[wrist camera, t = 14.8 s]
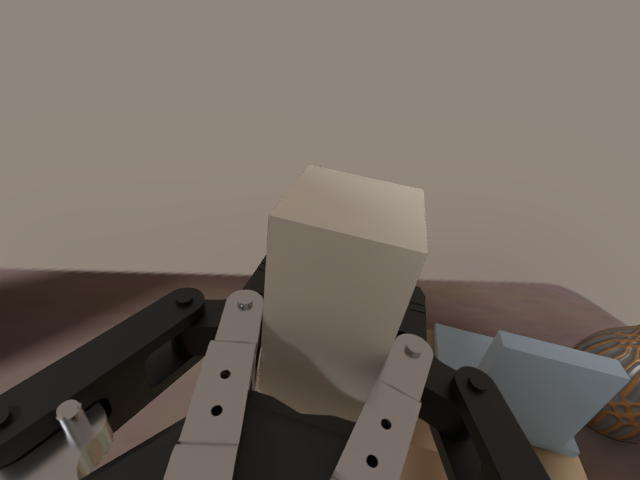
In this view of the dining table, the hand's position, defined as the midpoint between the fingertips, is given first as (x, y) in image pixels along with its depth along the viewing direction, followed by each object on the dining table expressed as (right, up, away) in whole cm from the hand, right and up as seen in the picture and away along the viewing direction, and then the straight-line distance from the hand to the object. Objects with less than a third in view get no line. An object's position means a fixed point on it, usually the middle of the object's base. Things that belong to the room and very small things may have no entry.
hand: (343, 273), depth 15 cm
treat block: (-2, -7, +2) cm, 8 cm away
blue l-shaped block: (+11, -9, +9) cm, 17 cm away
